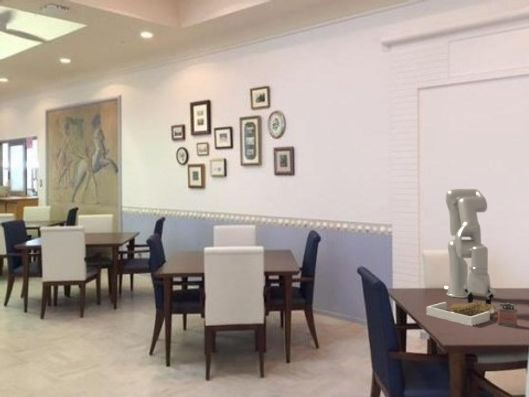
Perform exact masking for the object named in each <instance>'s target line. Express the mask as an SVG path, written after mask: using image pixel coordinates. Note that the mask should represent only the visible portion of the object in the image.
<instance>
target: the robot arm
mask: <svg viewBox="0 0 529 397" xmlns="http://www.w3.org/2000/svg"><path fill="white" fill-rule="evenodd" d="M445 202H446V206H447V209H448V214H449V232H450V234H451V236H452V237H454V239H452V240H450V241H449V242H448V244H447V251H448V257H449V285H444V287H443V289H444V290H446V291H447V292H446V295H447V296H448V297H451V298H460V299H461V298H462V299H464V298H465V299H466V298H467V304H468V303H474V294H476V295H483V296H484V297H486V299H485V303H486V304H490V305H492V299H493V298H494V297H495V296H496V294H497V290H495V289H494V288H493V287H492V286H491V279H490V274H489V273H488V272H489V270H488V269H489V267H488V266H489V264H488V262H489V260H488V256H489V250H488V249H489V248H488V247H487V246H485V245H484V244H482V238H481V237H482V234H481V232H482V231H481V225H480V223H479V220H478V215H477V213H485V212H486V211H487V210H488V203H487V199H486V198H485V196H484V195H483V193H481V191H480V190H478V189H476V188H455V189H449V190H448V191H447V192H446V193H445ZM462 238H470V239H462ZM465 259H470V260H471V264H470V265H471V266H468V262H467V261H466V260H465ZM468 267H469V270H470V272H469V271H468ZM468 272H469V275H468Z"/></svg>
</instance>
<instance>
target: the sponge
mask: <svg viewBox="0 0 529 397" xmlns="http://www.w3.org/2000/svg"><path fill="white" fill-rule="evenodd" d="M487 311H489V312H490V319H493V318H494V317H495V315H496V307H495V305H493V304H491V305H490V304H486V302H472V303H468V302H467V303H463V302H462V303H460V302H459V303H454V304H452V305H451V306H449V312H454V313H458V314H462V315H466V316H474V315H477V314H481V313H484V312H487Z"/></svg>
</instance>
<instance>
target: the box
mask: <svg viewBox="0 0 529 397" xmlns="http://www.w3.org/2000/svg"><path fill="white" fill-rule="evenodd" d="M447 305H448V304H447V302H446V301H443V302H439V303H436V304H431V305H428V306H426V308H425V309H426V316H429V317H434V318H438V319H441V320H445V321H449V322H454V323H457V324H462V325H465V326H469V325H470V326H469V327H473V325H474V326H477V325H480V324H482V323H485V322H488V321H490V319H491V318H490V312H489V311H487V312H484V313H481V314H477V315H474V316H466V315H462V314H458V313H454V312H450V310H449V311H448V310H447V309H448V308H447V307H448V306H447ZM476 324H477V325H476Z"/></svg>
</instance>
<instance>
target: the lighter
mask: <svg viewBox="0 0 529 397" xmlns="http://www.w3.org/2000/svg"><path fill="white" fill-rule="evenodd" d="M498 305H499V307H497V325H498V326H503V327H518V321H517V320H518V319H517V318H518V309H517V308H515V304H514V303H510V302H506V303H505V302H503V303H502V302H499V304H498Z"/></svg>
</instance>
